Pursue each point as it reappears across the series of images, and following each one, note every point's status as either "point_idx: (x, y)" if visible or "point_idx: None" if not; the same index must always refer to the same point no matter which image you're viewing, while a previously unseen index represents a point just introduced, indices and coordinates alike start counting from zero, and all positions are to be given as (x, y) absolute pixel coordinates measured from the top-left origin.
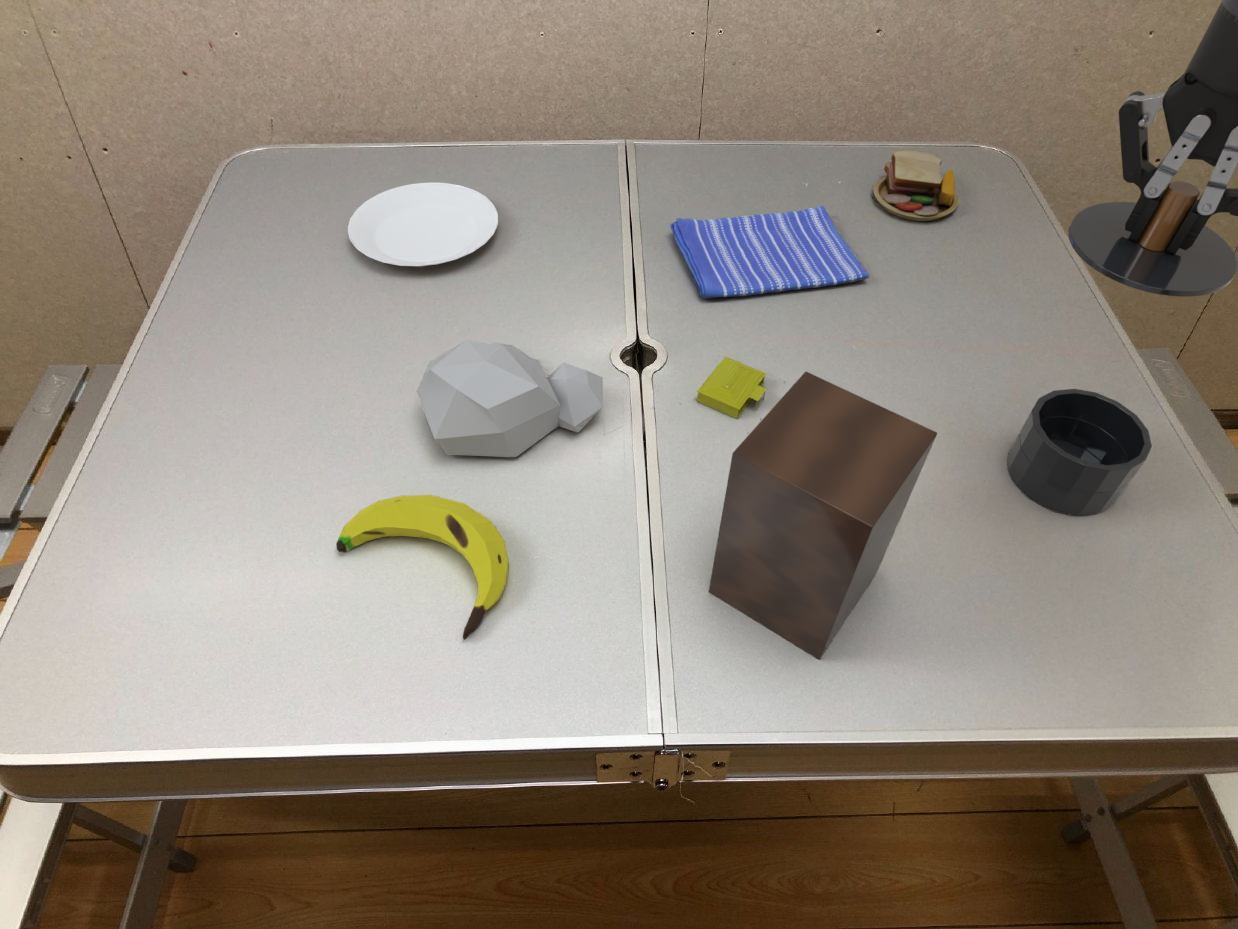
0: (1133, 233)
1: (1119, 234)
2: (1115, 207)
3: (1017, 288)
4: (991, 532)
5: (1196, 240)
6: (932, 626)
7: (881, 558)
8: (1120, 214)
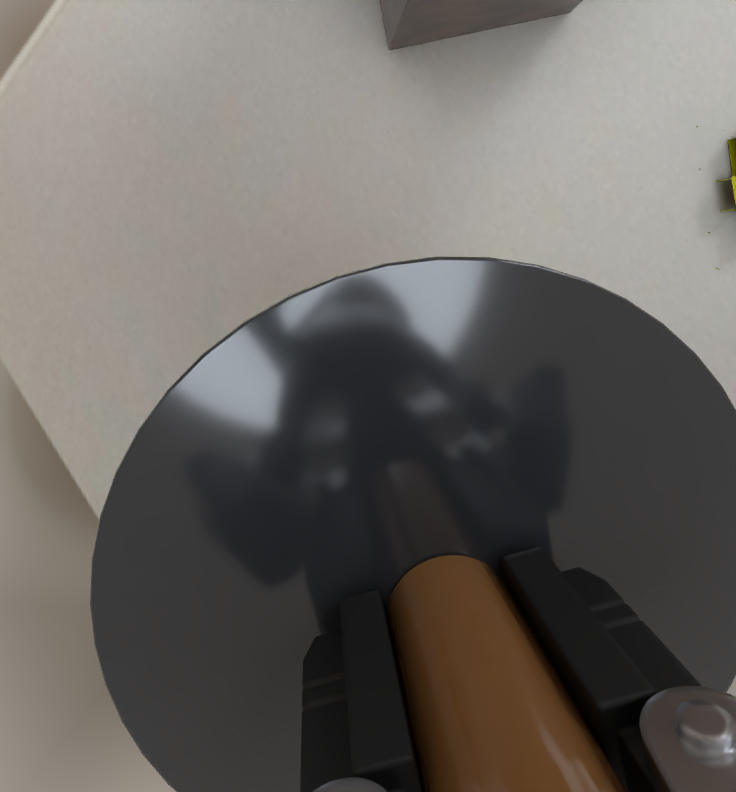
0: (541, 559)
1: (575, 561)
2: None
3: None
4: (319, 262)
5: None
6: (273, 30)
7: (393, 8)
8: None
